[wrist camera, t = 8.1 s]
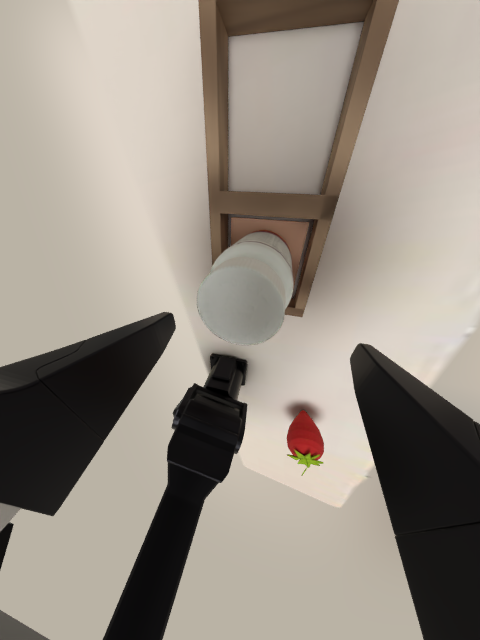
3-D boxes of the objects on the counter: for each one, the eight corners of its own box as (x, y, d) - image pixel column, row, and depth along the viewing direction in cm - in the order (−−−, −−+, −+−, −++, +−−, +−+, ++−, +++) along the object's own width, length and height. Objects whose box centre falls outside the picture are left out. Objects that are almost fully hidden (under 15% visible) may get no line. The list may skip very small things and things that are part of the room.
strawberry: (287, 419, 36) (288, 481, 28) (285, 398, 32) (285, 463, 24) (318, 423, 34) (327, 490, 26) (319, 401, 30) (331, 472, 22)
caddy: (300, 306, 21) (302, 317, 19) (220, 294, 23) (214, 303, 21) (392, -15, 9) (421, -76, 7) (213, 10, 11) (196, -33, 9)
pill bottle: (264, 295, 21) (246, 366, 12) (225, 263, 20) (172, 313, 11) (304, 256, 17) (322, 313, 8) (259, 213, 16) (224, 225, 7)
